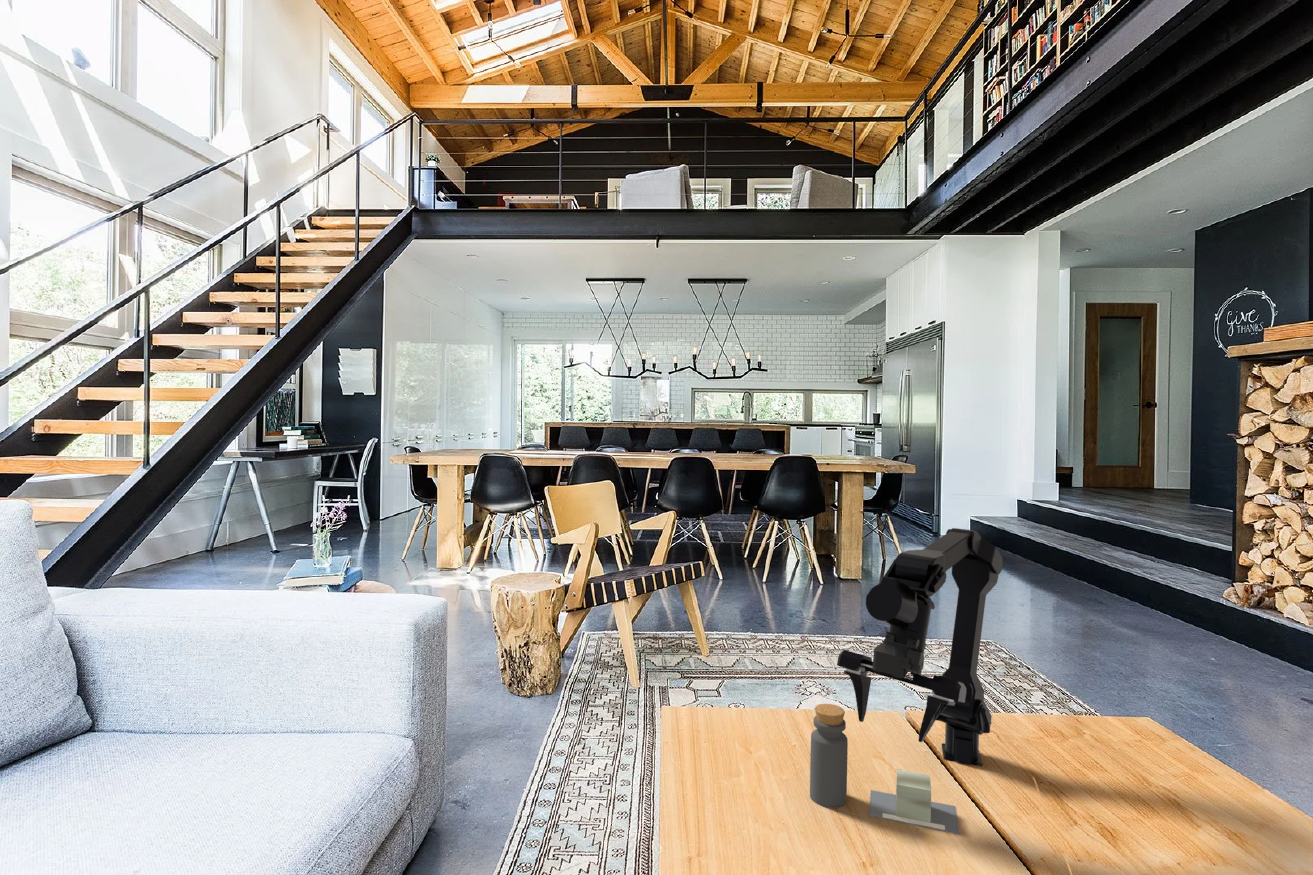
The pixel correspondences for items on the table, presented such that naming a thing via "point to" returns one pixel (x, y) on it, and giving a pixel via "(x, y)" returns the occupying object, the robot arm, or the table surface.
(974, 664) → the robot arm
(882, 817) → the letter tile
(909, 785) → the green block
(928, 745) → the table surface
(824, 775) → the bottle
